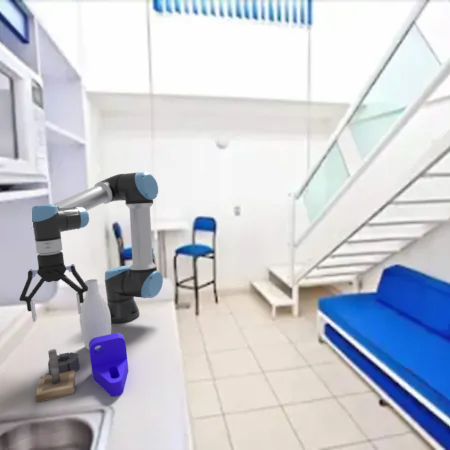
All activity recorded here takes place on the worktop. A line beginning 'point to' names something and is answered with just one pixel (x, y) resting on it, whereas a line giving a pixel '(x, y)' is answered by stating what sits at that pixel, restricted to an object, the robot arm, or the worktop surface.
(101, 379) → the bracket
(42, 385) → the peg base board
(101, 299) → the bottle
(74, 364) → the dark grey gear
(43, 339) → the worktop surface
